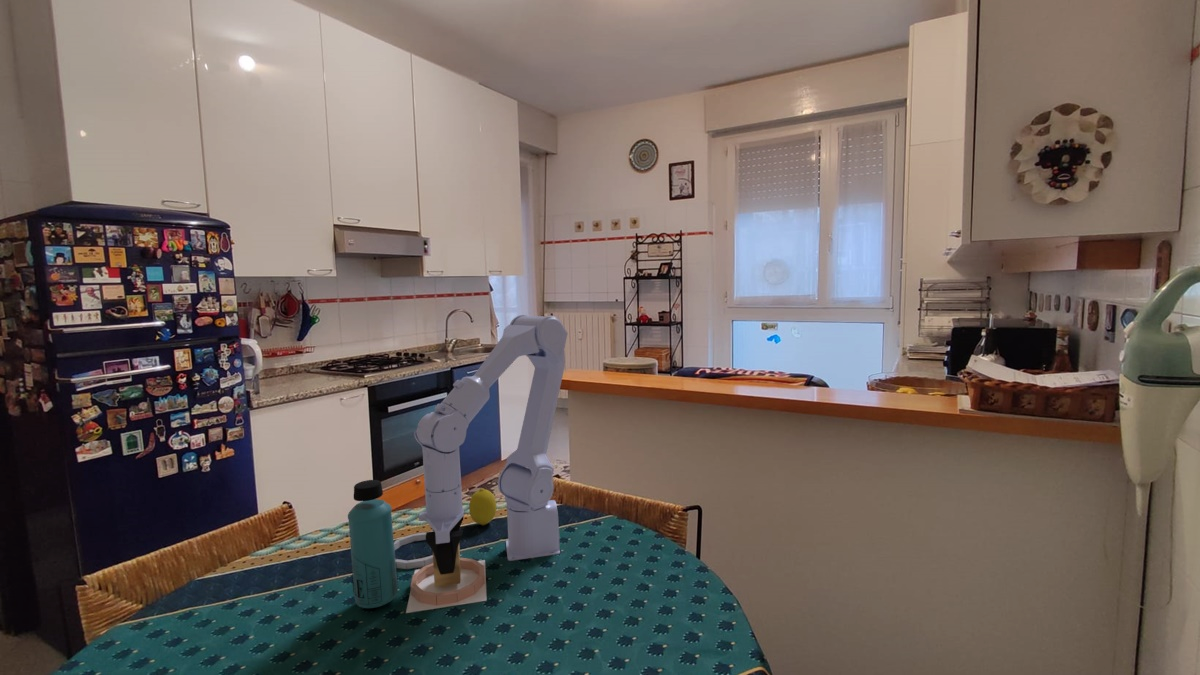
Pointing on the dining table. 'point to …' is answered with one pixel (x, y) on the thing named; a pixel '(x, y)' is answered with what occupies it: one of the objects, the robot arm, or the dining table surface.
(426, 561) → the ring
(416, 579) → the ring
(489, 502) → the lemon
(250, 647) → the dining table surface
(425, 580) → the card
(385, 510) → the beverage bottle
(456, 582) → the ochre block
